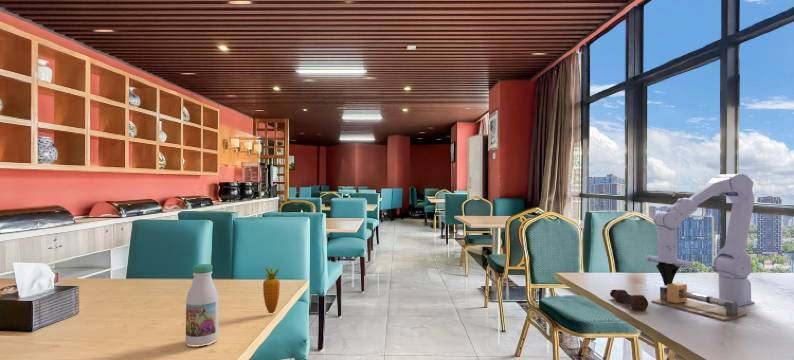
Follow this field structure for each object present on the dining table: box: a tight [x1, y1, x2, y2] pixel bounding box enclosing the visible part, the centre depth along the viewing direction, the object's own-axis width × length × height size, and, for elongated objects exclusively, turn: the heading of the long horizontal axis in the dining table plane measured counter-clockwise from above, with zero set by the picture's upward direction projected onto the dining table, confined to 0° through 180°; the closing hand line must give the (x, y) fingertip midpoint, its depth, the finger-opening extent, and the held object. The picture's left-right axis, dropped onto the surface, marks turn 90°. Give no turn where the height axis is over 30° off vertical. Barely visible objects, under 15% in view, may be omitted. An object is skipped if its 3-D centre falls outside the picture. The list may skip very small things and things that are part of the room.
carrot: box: [262, 266, 281, 314], centre depth 129 cm, size 5×5×15 cm
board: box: [650, 298, 748, 322], centre depth 134 cm, size 22×12×1 cm, turn 25°
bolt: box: [609, 289, 649, 312], centre depth 139 cm, size 6×5×15 cm
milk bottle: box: [185, 263, 220, 345], centre depth 107 cm, size 8×8×20 cm
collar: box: [667, 282, 688, 303], centre depth 139 cm, size 3×6×6 cm, turn 115°
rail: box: [659, 285, 739, 317], centre depth 134 cm, size 22×3×5 cm, turn 25°
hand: (668, 285), depth 142 cm, fingers closed
